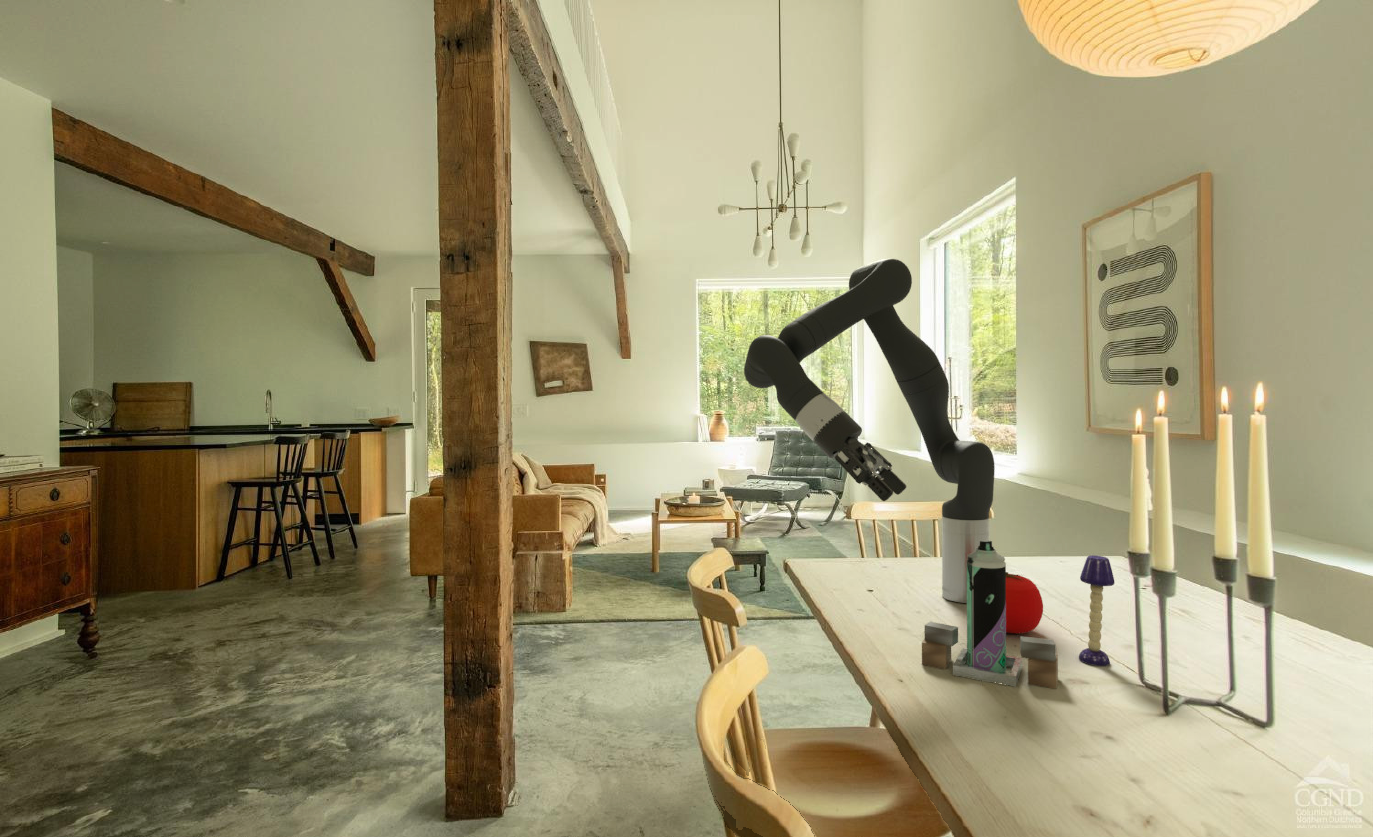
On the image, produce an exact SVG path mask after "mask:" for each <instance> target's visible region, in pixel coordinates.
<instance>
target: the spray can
mask: <svg viewBox="0 0 1373 837" xmlns="http://www.w3.org/2000/svg"><path fill="white" fill-rule="evenodd" d="M967 558H968V559H967V603H966V649H967V662H966V666H969V667H975V668H981V669H986V670H992V671H998V672H1003V673H1007V667H1006V655H1007V633H1006V572H1007V568H1006V567H1007V565H1006V564H1007V563H1006V562H1005V561H1006V558H1005V557H1004V556H1003V555H1001V554H1000V553H998V552H997V549H995V548H994V546H993V541H992V540H989V541H987V542H983V541H980V546H978V548H976V551H975V552H973V553H971V554H968V555H967Z"/></svg>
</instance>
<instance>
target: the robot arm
mask: <svg viewBox="0 0 1373 837" xmlns="http://www.w3.org/2000/svg"><path fill="white" fill-rule="evenodd" d="M912 283H913V278H912V274H911V270H910V269H909V267H908V266H907V264H906V263H905V262H903V261H902V260H899V259H897V258H883V259H880V260H876V261H873V262H870V263H868V264H864V265H862V266H860V267H858V268H856V269H854V270H853V271H852V273H851V274H850V277H849V281H848V290H847V291H846V292H844V293H842V294H840V295H838V296H836V297H834V298H832V299H830V300H827V301H825V302H824V303H821V304H820V305H817V306H816V307H813V308H812V309H810V310H808V311H807V312H805V313H804V314H802V315H800V316H799V317H796V319H794V320H793V321H790V323H788V324H786V325H785V326H784V327H783V329H781V331H780V333H779V335H778V337H776V336H773V335H768V334H762V335H759V336H756V338H754V339H753V340H752V341H751V342H750V345H749V347H748V350H747V354H746V359H745V363H744V368H743V373H744V377H745V380H746V381H747V383H748V384H749V385H750V386H753V387H755V388H758V389H767V388H771V387H773V386H774V387H775V390H776V399H777V402H778V403H779V405H780V407H781V408H782V409H783V410H784V411H785V412H786V413H787V414H788V415H789V416H790V417H791V418H792V419H793V420H794V421H795V422H796V424H797V425H798V426H799V428H800V429H801V430H802V432H803V433H805V435H806V436H807V437H808V438H809V439H810V440H811V441H812V442H813V444H815V445H816V446H817V447H818V448H819V449H820V450H821V451H822V452H823V453H824V454H825V455H826V456H827V457H828V458H829V459H833V460H834V459H835V461H836V462H837V463H838V464H839V465H840V466H841V467H842V468H843V469H844V470H845V471H846V472H847V473H848V474H849V475H850V477H851V478H852V479H853V480H854V482H856V483H858V484H859V485H861V484H863V485H864V486H867V487H868V488H869V489H870V490H871V491H872V492H873V493H874V494H875V495H876V496H877V497H878V499H880V500H881V501H882V502H886V501H888V500H889V499H890V498H891V497H892V496H893V495H894V494H895V495H900V494H902V493H903V492H904V491H905V490H906V489H907V485H906V483H905V482H903V480H902V479H901V478H900V477H899V476H898V475H897V474H896V473H895V472H893V471H892V470H893V468H892V467H893V464H892V463H891V462H890V461H888V459H886V458H885V457H884V455H883V454H881V453H880V451H878V450H877V449H876V448H875V447H874V446H873V445H872V444H871V443H869V442H866V443H865V444H863V443H862V442H861V441H859V440H858V439H859V437H860V436H861V434H862V431H863V429H862V428H863V427H861V426H860V425H859V424H858V423H857V422H856V420H854V419H853V418H852V416H850V415H849V414H848V413H847V412H846V411H845V410H844V409H843V407H841V406H840V405H839V404H838V403H837V402H836V401H835V400H834V399H832V398H831V397H829V396H828V394H826V393H824V391H823V390H822V389H820V387H819V386H818V385H817V384H816V383H814V382H813V380H811V379H810V378H809V377H808V375H807V373H806V371H805V370H804V368H803V366H802V365H801V362H803V360H805V358H808V357H809V356H810V355H812V354H813V353H815V352H816V351H817V350H819V349H821V348H822V347H823V346H825V345H826V344H828V343H829V342H830V341H832V340H833V339H835V338H837V337H838V336H839V335H841V334H842V333H844V332H845V331H847V330H848V329H850V328H851V327H853V326H854V325H856V324H858V323H859V322H861V321H862V320H864V322H865V323H866V326H868V329H869V330H870V331H871V333H872V334H873V337H874V338H875V340H876V342H877V344H878V346H879V348H880V350H881V352H882V353H883V356H884V358H885V359H886V361H887V363H888V365H889V368H890V369H891V370H890V371H891V372H892V374H893V376H894V379H895V381H896V383H897V385H898V387H899V389H900V391H901V393H902V395H903V397H904V399H905V401H906V403H907V404H908V407H909V409H910V411H911V413H912V415H913V418H914V419H915V420H914V421H915V422H916V425H917V426H918V428H919V431H920V434H921V435H922V438H923V441H924V445H925V447H926V449H927V452H928V456H929V458H930V461H931V464H932V466H933V468H934V472H936V474H937V475H938V477H939V478H940V479H941V480H943V481H945V482H947V483H950V484H956V485H957V486H956V487H957V488H956V495H955V496H954V497H953V498H952V499H948V500H947V501H944V502H943V503H942V505H941V532H942V533H941V539H942V540H941V545H942V546H941V547H942V548H941V551H942V552H941V554H942V555H941V567H942V568H941V571H942V572H941V575H942V576H941V581H942V583H941V584H942V585H941V586H942V587H941V590H942V594H941V595H942V597H943V598H944V599H945V600H948V601H951V602H956V603H960V604H967V559H968V558H967V555H968V554H971V553H973V552H975V551H976V548H978V546H980V541H983V542H987V541H990V509H991V508H992V505H993V501H994V488H995V487H994V484H995V458H994V455H993V452H992V449H991V448H990V447H989V445H987V444H986V443H983V442H980V441H972V440H971V441H969V440H960V439H959V437H958V436H957V434H956V433H955V431H954V429H953V426H952V424H951V422H950V419H949V416H948V404H949V397H950V384H949V381H948V378H947V375H946V372H945V370H944V369H943V367H942V365H941V362H940V360H939V358H938V356H937V355H936V353H935V351H933V349H932V348H931V347H930V346H929V345H928V344H927V343H926V342H925V341H924V340H922V339H921V338H920V337H919V336H917V335H916V333H914V332H913V331H912V330H911V329H910V328H909V327H908V326H906V324H904V322H903V321H902V320H901V318H900V316H899V314H898V313H897V312H898V311H897V310H896V309H895V305H897V304H898V303H899V304H900V303H901V302H902V301H903V300H905V299H906V297H907V296H908V295H909V293H910V291H911V288H912Z"/></svg>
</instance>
